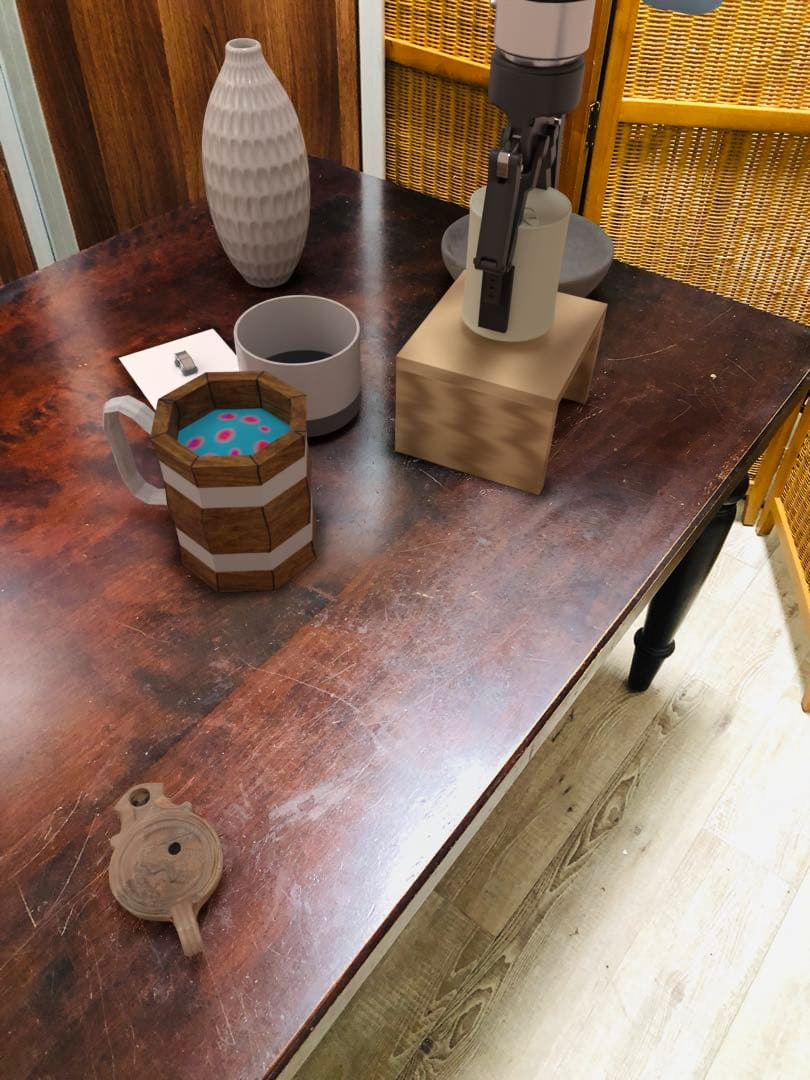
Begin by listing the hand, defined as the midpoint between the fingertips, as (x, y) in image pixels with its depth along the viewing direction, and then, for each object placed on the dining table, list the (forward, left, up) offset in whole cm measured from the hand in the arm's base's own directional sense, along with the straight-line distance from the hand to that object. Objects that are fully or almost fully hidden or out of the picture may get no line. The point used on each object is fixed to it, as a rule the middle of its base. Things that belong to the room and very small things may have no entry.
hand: (509, 303), depth 86 cm
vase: (+38, -16, -15) cm, 44 cm away
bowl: (+6, -26, -15) cm, 31 cm away
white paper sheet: (+36, +6, -15) cm, 40 cm away
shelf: (0, 0, -15) cm, 15 cm away
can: (0, 0, -2) cm, 2 cm away
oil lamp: (+3, +57, -15) cm, 59 cm away
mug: (+18, +27, -15) cm, 36 cm away
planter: (+20, +7, -15) cm, 26 cm away
